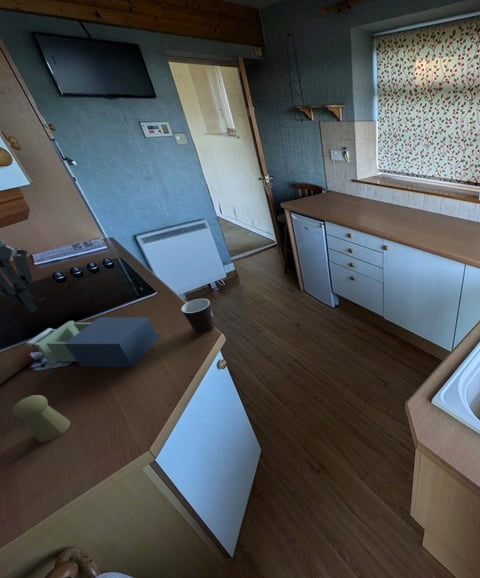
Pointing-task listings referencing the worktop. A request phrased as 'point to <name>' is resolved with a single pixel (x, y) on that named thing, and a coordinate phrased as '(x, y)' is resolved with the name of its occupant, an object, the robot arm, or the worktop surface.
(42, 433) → the cork
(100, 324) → the block
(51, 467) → the worktop surface
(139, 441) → the worktop surface
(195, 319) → the coffee mug
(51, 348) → the drawer
